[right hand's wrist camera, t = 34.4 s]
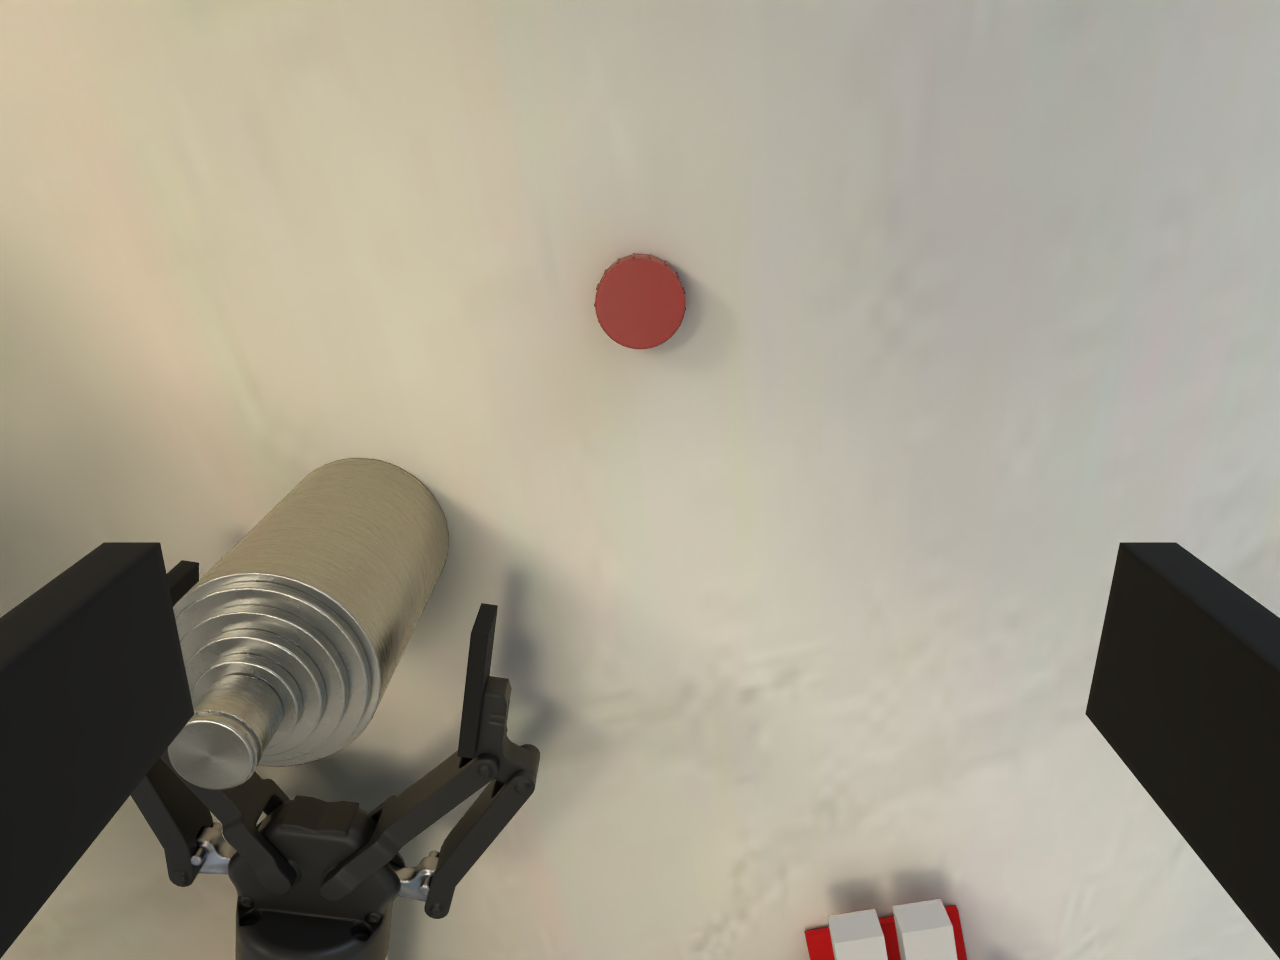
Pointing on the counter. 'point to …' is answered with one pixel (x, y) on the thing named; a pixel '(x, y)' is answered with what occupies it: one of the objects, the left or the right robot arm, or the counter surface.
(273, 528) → the bottle
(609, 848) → the counter surface
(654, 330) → the cap
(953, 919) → the toy
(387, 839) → the left robot arm
